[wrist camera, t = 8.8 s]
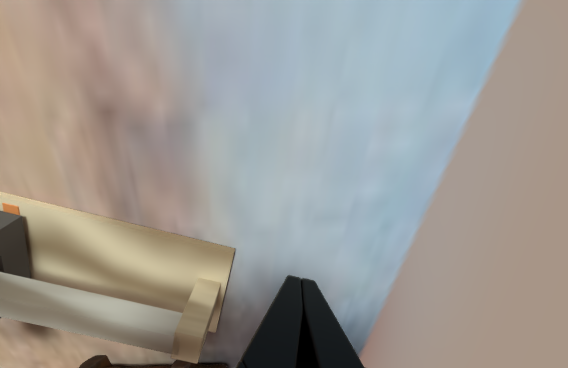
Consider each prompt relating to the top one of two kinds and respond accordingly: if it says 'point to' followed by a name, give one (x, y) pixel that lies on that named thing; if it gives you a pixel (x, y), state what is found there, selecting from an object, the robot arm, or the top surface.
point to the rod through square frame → (115, 280)
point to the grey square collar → (13, 246)
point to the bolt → (100, 364)
